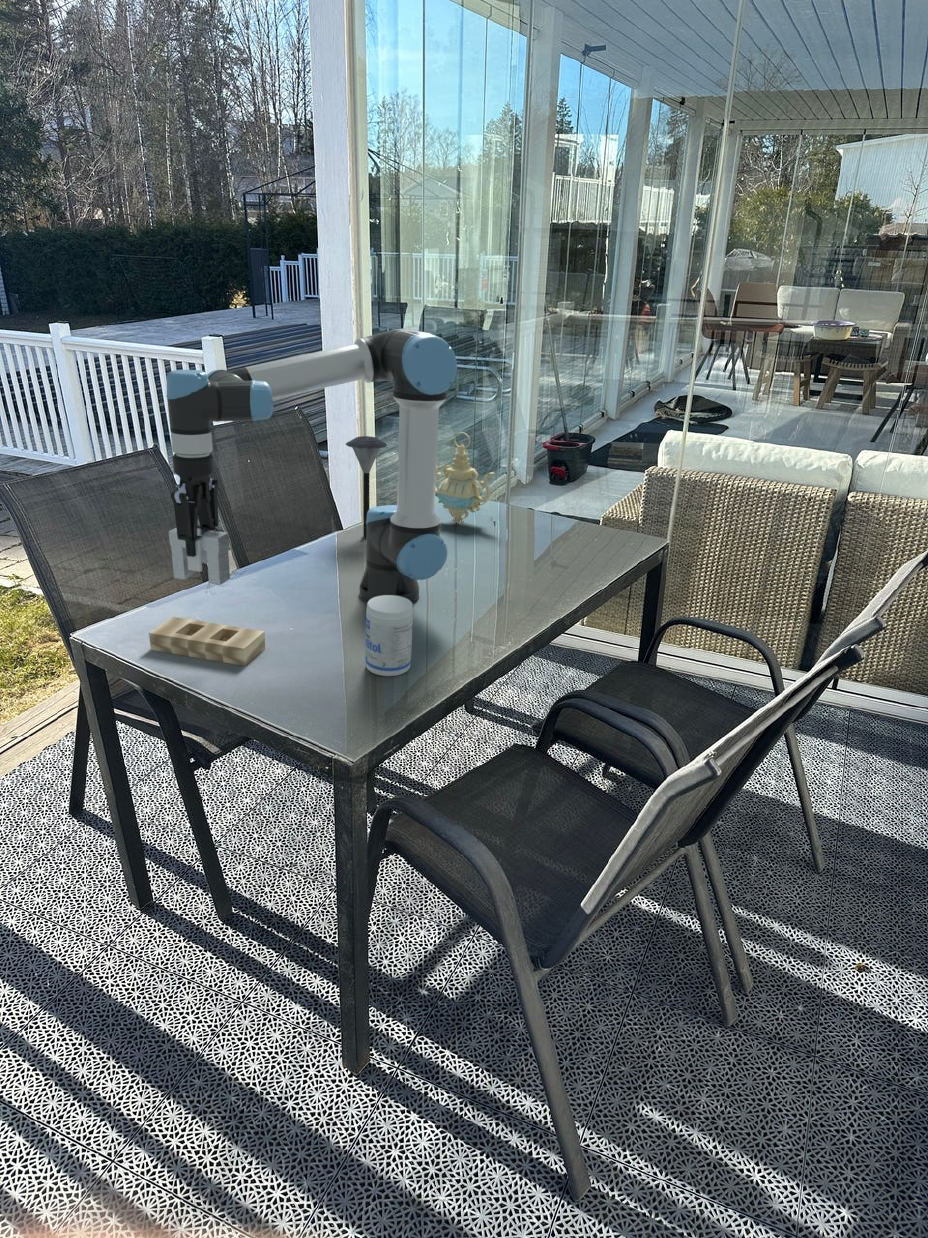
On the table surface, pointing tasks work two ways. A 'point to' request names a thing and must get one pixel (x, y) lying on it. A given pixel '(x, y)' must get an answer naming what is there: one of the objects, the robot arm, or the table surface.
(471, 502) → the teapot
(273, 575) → the table surface
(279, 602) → the table surface
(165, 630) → the wooden block with holes
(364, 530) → the solar garden light
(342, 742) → the table surface
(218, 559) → the grey u-shaped block
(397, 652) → the supplement tub
